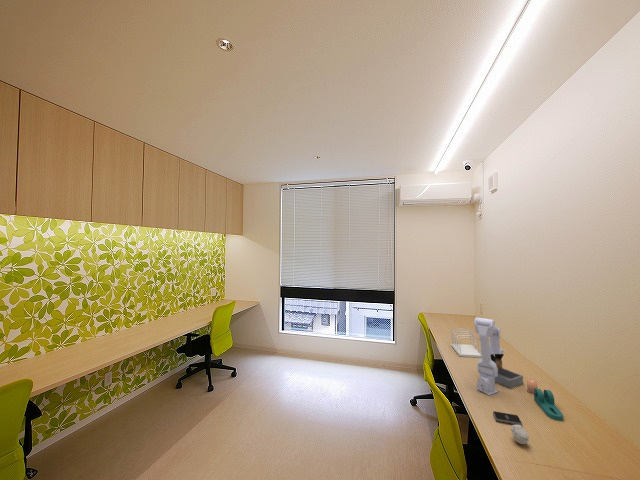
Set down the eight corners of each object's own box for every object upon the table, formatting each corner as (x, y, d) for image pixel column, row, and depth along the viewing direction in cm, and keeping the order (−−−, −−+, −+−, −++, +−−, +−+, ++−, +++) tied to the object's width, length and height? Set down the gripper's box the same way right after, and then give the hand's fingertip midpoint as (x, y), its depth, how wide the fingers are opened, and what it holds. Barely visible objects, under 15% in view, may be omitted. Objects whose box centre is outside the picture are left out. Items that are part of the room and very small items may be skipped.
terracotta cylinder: (535, 395, 155) (534, 383, 155) (525, 391, 159) (524, 379, 160) (539, 393, 157) (539, 381, 157) (530, 389, 161) (529, 377, 162)
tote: (510, 388, 162) (509, 380, 163) (482, 376, 178) (482, 369, 179) (523, 383, 168) (522, 375, 168) (495, 372, 184) (494, 365, 184)
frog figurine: (520, 436, 122) (519, 421, 122) (533, 448, 115) (532, 431, 115) (507, 437, 122) (507, 421, 122) (519, 448, 115) (519, 432, 115)
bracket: (534, 400, 150) (533, 386, 151) (548, 402, 148) (548, 387, 148) (549, 419, 133) (548, 403, 134) (566, 422, 131) (565, 406, 132)
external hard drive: (492, 414, 139) (492, 410, 139) (518, 419, 135) (518, 415, 135) (496, 422, 132) (496, 418, 132) (522, 427, 128) (522, 423, 128)
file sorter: (483, 358, 208) (482, 338, 209) (459, 356, 212) (458, 337, 212) (472, 346, 233) (471, 328, 233) (450, 345, 236) (450, 328, 237)
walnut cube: (497, 369, 173) (497, 362, 173) (490, 366, 178) (489, 359, 178) (502, 368, 175) (502, 360, 176) (494, 365, 180) (494, 357, 180)
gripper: (493, 348, 171) (494, 369, 170) (507, 344, 177) (508, 365, 176) (483, 344, 177) (484, 365, 177) (496, 341, 183) (497, 361, 183)
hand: (495, 364), depth 177 cm, fingers closed on walnut cube, 5 cm apart
